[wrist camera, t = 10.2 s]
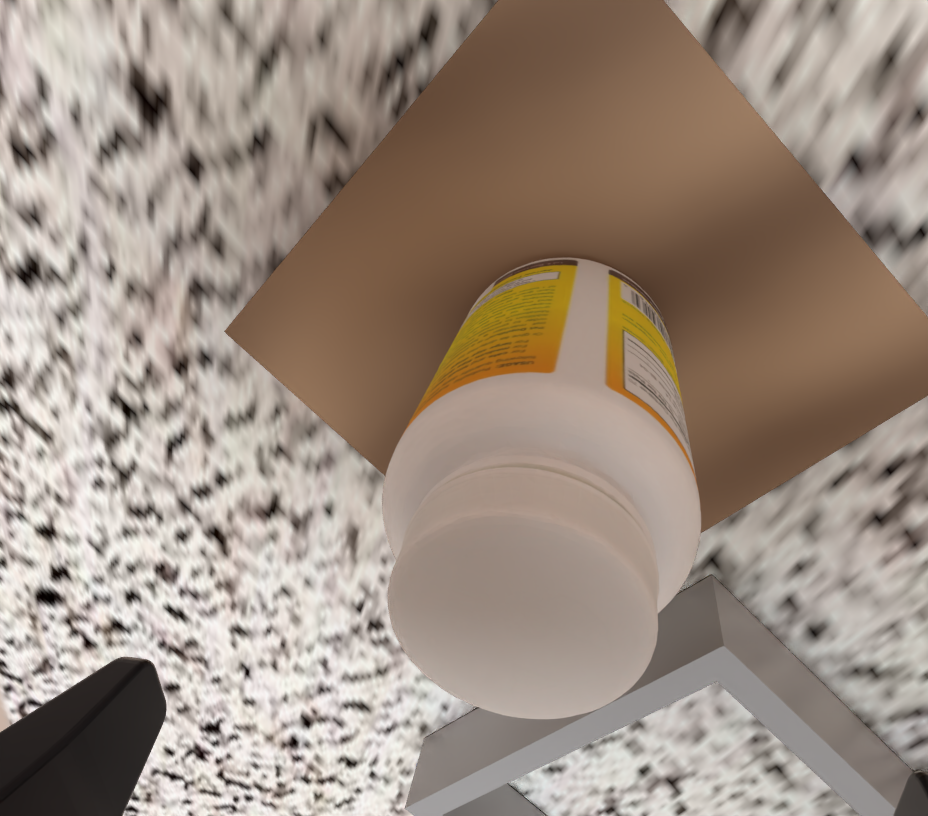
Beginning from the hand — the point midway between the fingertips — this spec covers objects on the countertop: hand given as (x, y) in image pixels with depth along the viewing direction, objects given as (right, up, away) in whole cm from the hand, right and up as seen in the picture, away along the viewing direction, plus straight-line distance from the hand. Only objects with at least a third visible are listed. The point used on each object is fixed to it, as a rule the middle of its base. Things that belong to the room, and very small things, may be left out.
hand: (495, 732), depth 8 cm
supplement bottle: (+2, +5, +11) cm, 12 cm away
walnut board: (+2, +6, +11) cm, 13 cm away
